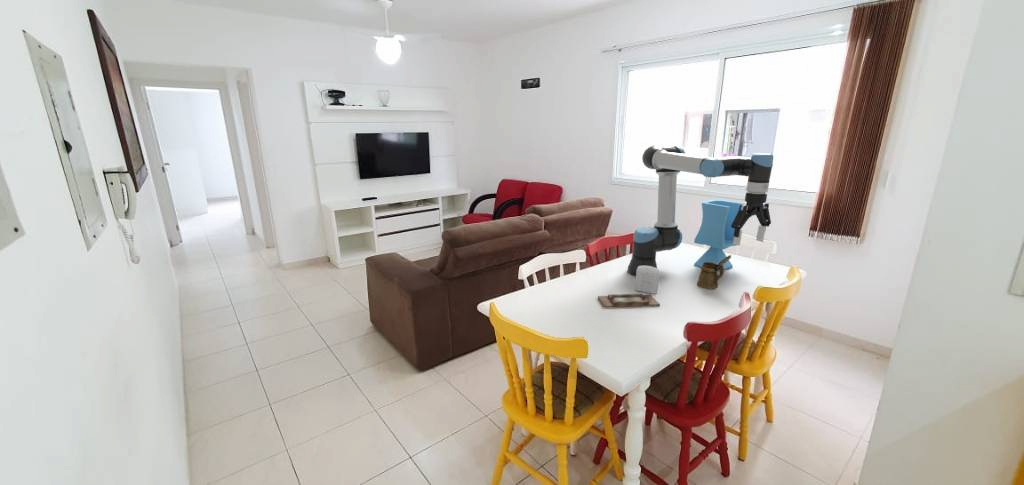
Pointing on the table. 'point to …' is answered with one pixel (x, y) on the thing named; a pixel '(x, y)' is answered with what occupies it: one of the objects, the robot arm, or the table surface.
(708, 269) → the wooden mug
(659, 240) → the robot arm
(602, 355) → the table surface
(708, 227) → the planter
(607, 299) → the brown flat rectangular piece
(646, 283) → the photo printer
